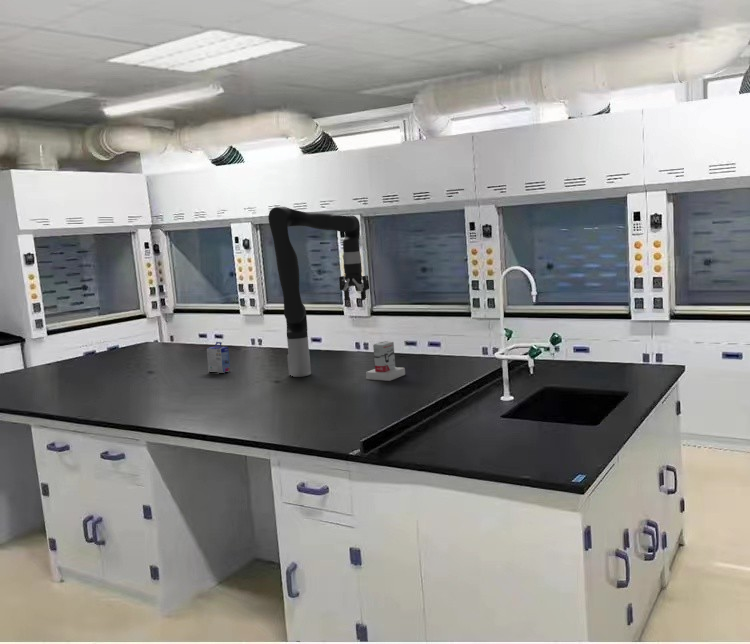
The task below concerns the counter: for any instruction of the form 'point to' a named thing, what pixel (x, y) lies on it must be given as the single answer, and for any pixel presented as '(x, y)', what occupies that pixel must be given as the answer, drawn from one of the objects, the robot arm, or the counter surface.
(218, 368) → the ink cartridge box
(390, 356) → the ink box
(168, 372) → the counter surface
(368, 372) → the stand
